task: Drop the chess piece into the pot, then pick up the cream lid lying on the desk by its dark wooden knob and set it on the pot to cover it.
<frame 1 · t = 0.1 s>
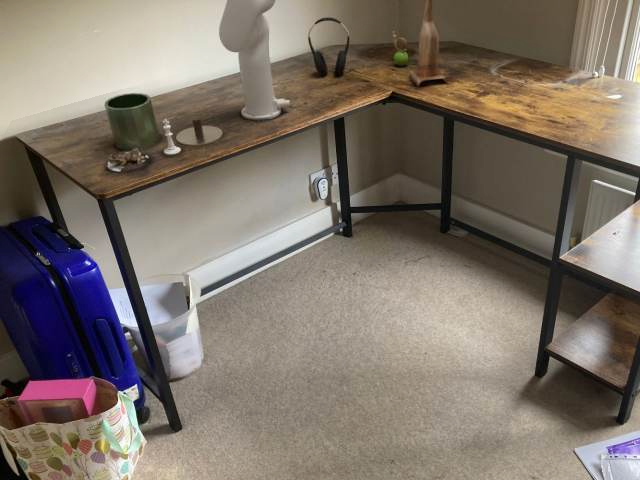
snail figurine: (400, 65, 245), on the table
pot: (138, 141, 193), on the table
chess piece: (173, 153, 187), on the table
frog figurine: (128, 163, 182), on the table
headphones: (331, 75, 238), on the table
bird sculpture: (428, 81, 232), on the table
lid: (199, 136, 194), point 1 cm above the table
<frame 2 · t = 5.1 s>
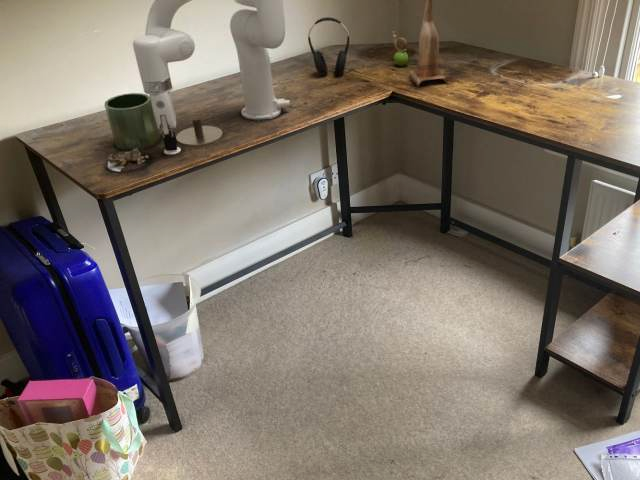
hand: (171, 147, 186), 2 cm above the table, tool pointing down, fingers closed on chess piece
chess piece: (173, 153, 187), on the table, touching gripper
everything else where it was.
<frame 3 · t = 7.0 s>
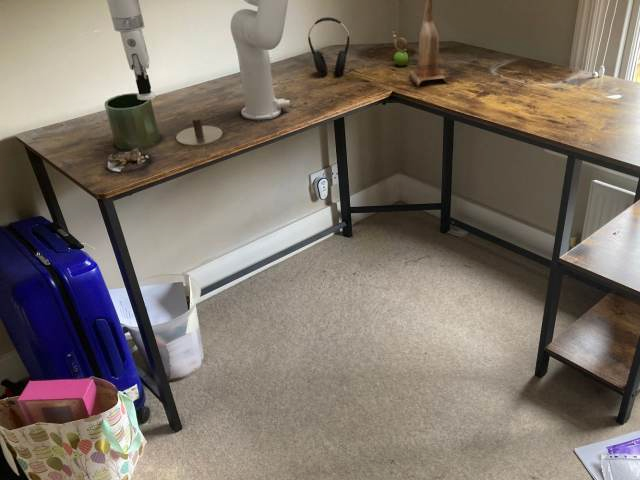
hand: (145, 91, 179), 17 cm above the table, tool pointing down, fingers closed on chess piece
chess piece: (146, 97, 180), point 15 cm above the table, touching gripper
everything else where it was.
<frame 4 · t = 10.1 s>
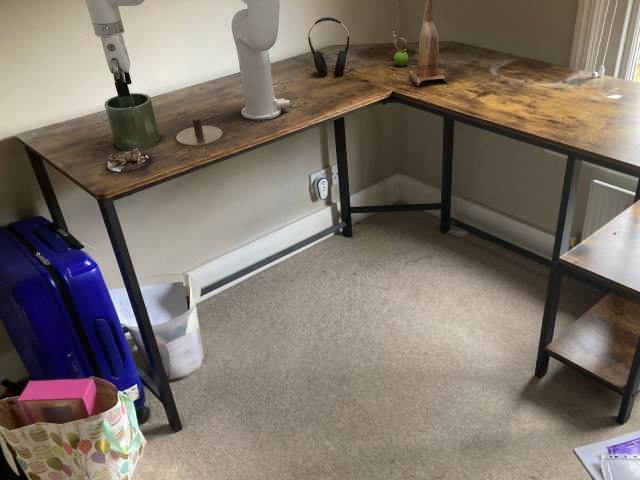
hand: (125, 90, 184), 16 cm above the table, tool pointing down, fingers open, 9 cm apart
chess piece: (138, 140, 193), resting on pot
everything else where it was.
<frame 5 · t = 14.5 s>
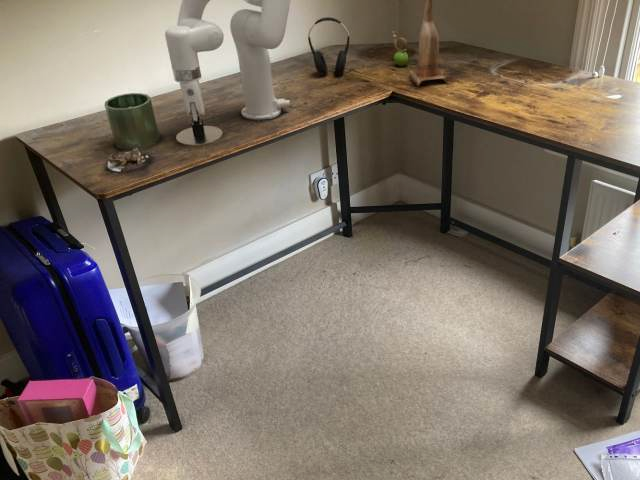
hand: (199, 133, 194), 1 cm above the table, tool pointing down, fingers closed on lid, 2 cm apart
lid: (199, 136, 194), point 1 cm above the table, touching gripper
everything else where it was.
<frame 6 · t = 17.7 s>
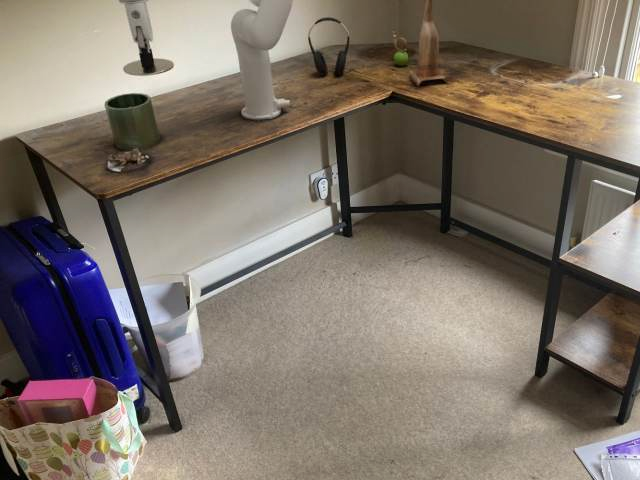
hand: (148, 64, 180), 22 cm above the table, tool pointing down, fingers closed on lid, 2 cm apart
lid: (148, 67, 181), point 22 cm above the table, touching gripper
everything else where it was.
when the fingers open (13 cm above the table, at t = 20.8 s): lid stays where it is, resting on pot.
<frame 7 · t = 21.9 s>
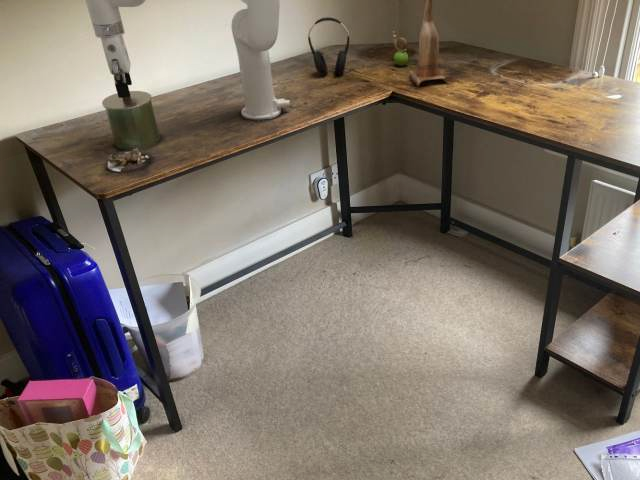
hand: (125, 90, 184), 15 cm above the table, tool pointing down, fingers open, 9 cm apart
lid: (127, 101, 186), point 12 cm above the table, touching pot
everything else where it was.
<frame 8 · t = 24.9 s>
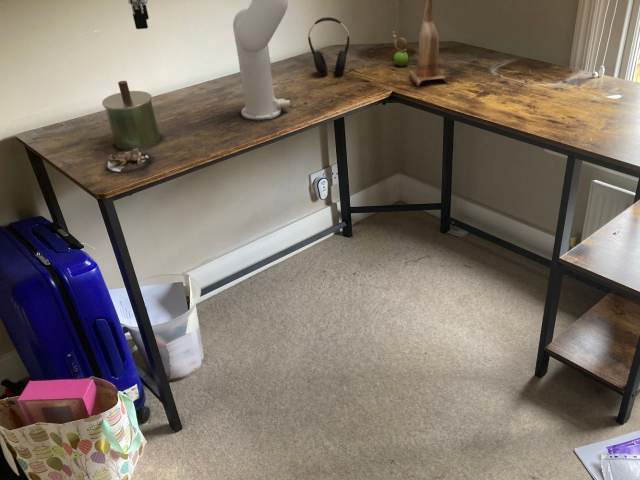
hand: (142, 23, 185), 30 cm above the table, tool pointing down, fingers open, 9 cm apart
nothing on the table moved.
at the end: chess piece inside the target area in the pot (0.4 cm from its centre), point 0.3 cm above the pot's base; lid 0.1 cm off-centre on the pot, point 12.5 cm above the pot's base; lid tilted 0° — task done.
